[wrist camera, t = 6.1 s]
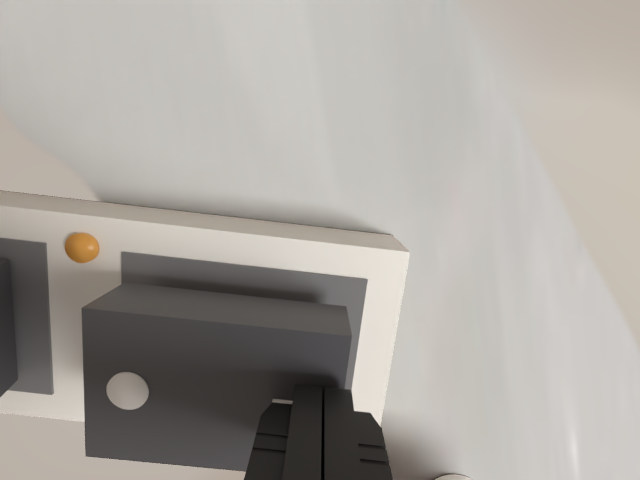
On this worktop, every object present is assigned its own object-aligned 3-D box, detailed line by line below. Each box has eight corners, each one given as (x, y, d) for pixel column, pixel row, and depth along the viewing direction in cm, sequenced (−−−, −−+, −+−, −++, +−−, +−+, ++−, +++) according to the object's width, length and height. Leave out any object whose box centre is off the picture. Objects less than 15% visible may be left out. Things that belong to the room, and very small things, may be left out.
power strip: (-217, 338, 16) (-351, 380, 13) (-255, 161, 14) (-420, 159, 11) (366, 401, 16) (376, 458, 13) (393, 235, 15) (412, 254, 12)
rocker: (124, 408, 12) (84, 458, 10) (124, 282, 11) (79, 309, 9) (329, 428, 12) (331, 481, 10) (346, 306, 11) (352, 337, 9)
